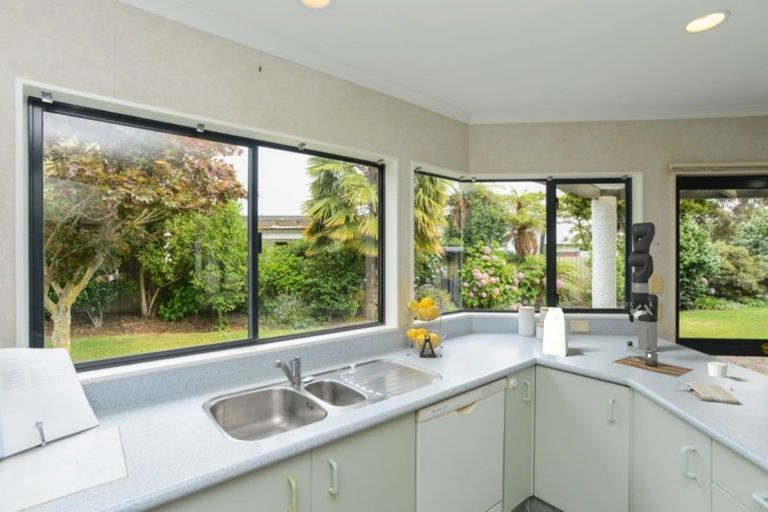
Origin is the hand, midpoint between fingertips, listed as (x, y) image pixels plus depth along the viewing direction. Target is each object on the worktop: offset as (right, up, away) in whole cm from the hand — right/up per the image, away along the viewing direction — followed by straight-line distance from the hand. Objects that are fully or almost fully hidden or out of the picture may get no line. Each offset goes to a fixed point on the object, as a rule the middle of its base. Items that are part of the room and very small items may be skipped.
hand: (640, 322), depth 194 cm
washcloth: (-3, -22, -45) cm, 50 cm away
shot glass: (+17, -21, -26) cm, 38 cm away
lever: (-3, -19, -4) cm, 20 cm away
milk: (-36, -21, +18) cm, 46 cm away
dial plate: (-2, -21, -11) cm, 24 cm away
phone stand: (-111, -22, +12) cm, 114 cm away
